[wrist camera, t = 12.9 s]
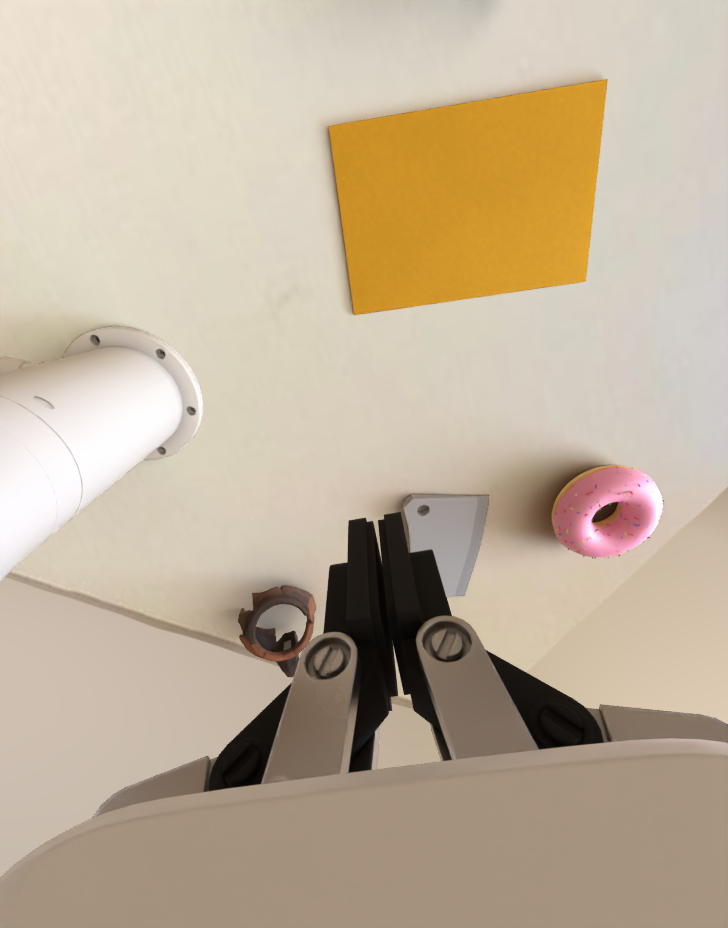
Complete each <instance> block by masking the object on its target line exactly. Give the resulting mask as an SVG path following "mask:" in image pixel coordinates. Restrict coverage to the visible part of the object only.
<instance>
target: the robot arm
mask: <svg viewBox="0 0 728 928" xmlns="http://www.w3.org/2000/svg"><path fill="white" fill-rule="evenodd" d="M99 339H100V340H99ZM162 351H164V352H165V355H164V354H163V352H162ZM192 407H194V409H195V410H193V408H192ZM202 415H203V400H202V393H201V390H200V387H199V384H198V381H197V379H196V377H195V375H194V373H193V371H192V370H191V368H190V367H189V366H188V364H187V363H186V362H185V360H184V359H183V358H182V357H181V356H180V355H179V354H178V353H177V352H176V351H175V350H174V349H173V348H172V347H171V346H169V345H168V344H166V343H165V342H164V341H162V340H161V339H159V338H157V337H155V336H153V335H151V334H149V333H147V332H144V331H141V330H138V329H135V328H130V327H122V326H114V327H104V328H99V329H94V330H91V331H89V332H87V333H84V334H82V335H81V336H79V337H78V338H77V339H75V340H74V341H73V342H72V343H71V344H70V345H69V347H68V348H67V349H66V351H65V352H64V355H63V357H62V358H61V359H57V360H53V361H50V362H42V363H40V364H33V363H31V362H28V361H24V360H19V359H14V358H9V357H2V358H0V581H1V580H2V579H3V578H4V577H5V576H6V575H7V574H9V573H10V572H11V571H12V570H13V569H14V568H15V567H16V566H17V565H18V564H19V563H20V562H21V561H22V560H23V559H24V558H26V557H27V556H28V555H29V554H30V553H31V552H32V551H34V550H35V549H36V548H37V547H38V546H39V545H40V544H42V543H43V542H44V541H45V540H46V539H47V538H49V537H50V536H51V535H52V534H53V533H55V532H56V531H57V530H58V529H59V528H61V527H62V526H63V525H64V524H65V523H67V522H68V521H69V520H71V519H72V518H73V517H74V516H76V515H77V514H78V513H79V512H80V511H82V510H83V509H84V508H85V507H86V506H88V505H89V504H90V503H91V502H92V501H94V500H95V499H96V498H97V497H98V496H100V495H101V494H102V493H103V492H104V491H106V490H107V489H108V488H109V487H110V486H112V485H113V484H114V483H115V482H117V481H118V480H119V479H120V478H121V477H123V476H124V475H125V474H126V473H127V472H129V471H130V470H131V469H132V468H133V467H135V466H136V465H137V464H138V463H139V462H141V461H142V460H154V459H161V458H164V457H168V456H170V455H172V454H174V453H176V452H179V451H180V450H181V449H182V448H183V447H185V446H186V445H187V444H188V443H189V442H190V441H191V440H192V439H193V438H194V436H195V434H196V433H197V431H198V429H199V427H200V424H201V420H202ZM378 525H379V536H380V546H381V556H382V562H381V557H380V552H379V547H378V543H377V538H376V533H375V528H374V523H373V521H371V522H367V520H366V518H361V519H355V520H349V527H348V563H341V564H335V565H331V566H330V569H329V579H328V590H327V601H326V612H325V623H324V634H322V635H320V636H317V637H316V638H314V639H313V640H312V641H310V642H309V643H308V644H307V646H306V647H305V648H304V649H303V651H302V653H301V655H300V658H299V661H298V664H297V667H296V671H295V674H294V677H293V681H292V683H291V684H290V685H289V686H288V687H287V688H286V689H285V690H284V691H283V692H282V693H281V694H280V695H278V696H277V697H276V698H275V699H274V700H273V701H272V702H271V703H270V704H269V705H268V706H267V707H266V708H265V709H264V710H263V711H262V712H261V713H260V714H259V715H258V716H257V717H256V718H255V719H254V720H253V721H252V722H251V723H250V724H248V725H247V726H246V727H245V728H244V729H243V730H242V731H241V732H240V733H239V734H238V735H237V736H236V737H235V738H234V739H233V740H232V741H231V742H230V743H229V744H228V745H227V746H226V747H225V748H224V750H223V751H222V752H221V753H220V754H219V756H218V757H216V758H214V759H211V760H210V758H209V757H208V756H205V757H203V758H200V759H197V760H195V761H192V762H190V763H187V764H185V765H182V766H179V767H177V768H174V769H172V770H169V771H167V772H164V773H161V774H159V775H156V776H153V777H151V778H148V779H146V780H143V781H141V782H138V783H136V784H133V785H130V786H128V787H125V788H123V789H122V790H120V791H118V792H117V793H115V794H113V795H112V796H111V797H110V798H109V799H108V800H106V801H105V802H104V803H103V804H102V805H101V806H100V808H99V809H98V810H97V812H96V813H95V814H94V816H93V817H92V819H89V820H87V821H85V822H83V823H81V824H79V825H76V826H74V827H73V828H71V829H69V830H67V831H65V832H63V833H62V834H60V835H58V836H56V837H55V838H53V839H51V840H49V841H47V842H45V843H44V844H43V845H41V846H40V847H38V848H36V849H35V850H33V851H32V852H30V853H29V854H28V855H26V856H25V857H24V858H22V859H21V860H20V861H18V862H17V863H16V864H14V865H13V866H12V867H11V868H10V869H9V870H8V871H6V873H4V874H3V875H2V876H1V877H0V928H728V724H726V723H724V722H722V721H720V720H718V719H716V718H712V717H708V716H704V715H700V714H690V713H680V712H670V711H660V710H650V709H640V708H630V707H620V706H609V705H600V707H599V709H591V708H585V707H584V706H583V705H581V704H580V703H578V702H577V701H575V700H574V699H573V698H571V697H569V696H567V695H565V694H563V693H562V692H560V691H558V690H556V689H555V688H553V687H551V686H549V685H547V684H545V683H544V682H542V681H540V680H538V679H537V678H535V677H533V676H531V675H530V674H528V673H526V672H524V671H522V670H521V669H519V668H517V667H515V666H513V665H512V664H510V663H508V662H506V661H504V660H503V659H501V658H499V657H497V656H496V655H494V654H492V653H490V652H488V651H487V650H485V649H484V647H483V645H482V643H481V641H480V639H479V637H478V636H477V634H476V632H475V631H474V629H473V628H472V627H471V625H469V624H468V623H467V622H465V621H464V620H462V619H460V618H457V617H454V616H452V615H451V611H450V608H449V604H448V601H447V597H446V594H445V590H444V587H443V584H442V580H441V577H440V573H439V570H438V566H437V563H436V559H435V556H434V553H433V550H432V549H430V550H424V551H417V552H411V553H409V552H408V547H407V542H406V537H405V532H404V527H403V522H402V517H401V512H398V513H392V514H386V515H384V519H383V520H378ZM392 640H393V641H392ZM393 645H394V649H395V654H396V659H397V663H398V668H399V673H400V677H401V682H402V687H403V692H404V695H408V694H411V699H412V704H413V709H414V711H415V712H416V713H418V714H419V715H420V716H422V717H423V718H424V719H425V720H427V721H428V722H429V723H430V725H431V730H432V733H433V737H434V740H435V743H436V746H437V749H438V753H439V755H440V759H441V762H432V763H425V764H417V765H409V766H400V767H392V768H384V769H377V762H378V749H379V738H380V736H379V726H380V724H381V723H382V722H383V721H384V719H385V718H386V717H387V716H388V714H389V711H392V705H391V697H393V696H398V689H397V679H396V670H395V660H394V650H393Z"/></svg>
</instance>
